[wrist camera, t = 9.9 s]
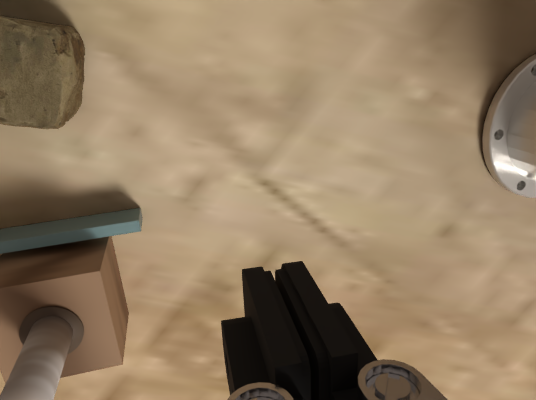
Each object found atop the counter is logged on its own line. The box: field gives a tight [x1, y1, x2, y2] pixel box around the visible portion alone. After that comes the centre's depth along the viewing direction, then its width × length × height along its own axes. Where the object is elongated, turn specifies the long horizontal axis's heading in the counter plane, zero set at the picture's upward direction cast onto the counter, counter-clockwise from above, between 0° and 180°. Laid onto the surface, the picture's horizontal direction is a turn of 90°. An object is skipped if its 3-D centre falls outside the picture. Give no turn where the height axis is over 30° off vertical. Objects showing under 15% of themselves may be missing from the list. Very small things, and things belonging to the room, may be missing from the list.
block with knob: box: [0, 236, 129, 400], centre depth 27 cm, size 7×7×12 cm
